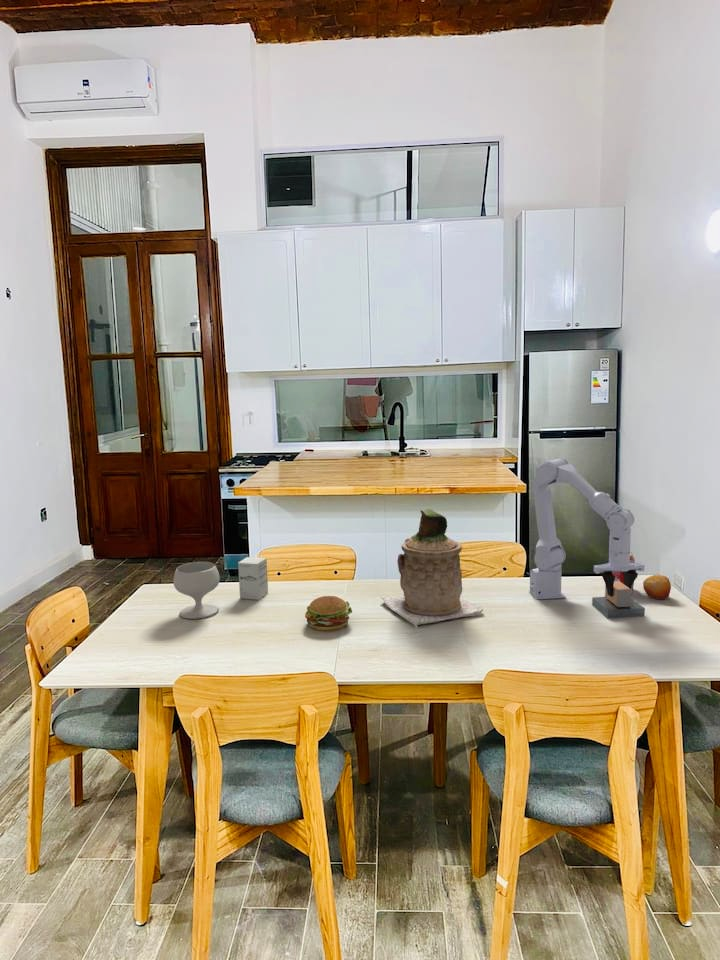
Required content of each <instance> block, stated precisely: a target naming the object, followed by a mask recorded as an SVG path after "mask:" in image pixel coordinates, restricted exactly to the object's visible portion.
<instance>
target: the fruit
mask: <svg viewBox="0 0 720 960" xmlns="http://www.w3.org/2000/svg"><path fill="white" fill-rule="evenodd" d="M642 584H643V590H644V592H645V594H646V595H647V596H648V597H650V598H652V599H657V600H662V601H663V600H666V599H667V598H669V597H670V593H671V590H672V584H671V581H670V579H669V578H668V577H667V576H666V575H662V574H654V575H650V576H648V577H647V578H645V580H643V583H642Z"/></svg>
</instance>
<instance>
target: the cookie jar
mask: <svg viewBox="0 0 720 960" xmlns="http://www.w3.org/2000/svg"><path fill="white" fill-rule="evenodd" d="M420 514H421V516H420V521H419V523H418V524H419V525H418V526H419V527H418V531H417V532H416V533H415V534H414V535H412V536H411V537H407V538H406V539H405V540H404V543H403V544H402V545H401V550H402V552H403V553H399V554H398V555H397V556H398V557H397V568H398V572H399V574H400V580H399V583H400V588H401V590H402V591H403V593H402V594H397V595H385V596H382V595H381V597H380V598H381V599H382V600H383V601H384V604H385V606H386V607H387V608H388V609H391V611H392V612H394V613H396V614H397V615H399V616H400V617H401V618H403V619H405V620H406V621H407V622H409V623H411V624H412V625H413V626H414V627H415V628H418V627H419V625H425V624H432V623H436V622H437V623H438V622H442V621H447V620H452V619H460V618H467V617H476V616H481V615H482V613H483V611H484V608H483V606H482V607H481V606H479V605H477V604H476V603H473V602H471V601H469V600H468V599H466V598H463V597H461V595H462V593H463V581H462V579H463V573H462V569H461V558H460V554H461V552H462V549H463V546H462V544H461V543H460V542H459V541H455V540H454V539H452V538H450V537H448V536H447V535H446V532H447V529H448V528H447V527H448V521H447V518H446V517H445V516H443V514H440V513H438V512H436V511H434V510H433V509H430V508H427V509H424V510H423V509H421V510H420Z"/></svg>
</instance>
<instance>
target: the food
mask: <svg viewBox="0 0 720 960" xmlns="http://www.w3.org/2000/svg"><path fill="white" fill-rule="evenodd" d="M350 614H353V610H352V607H351V606H350V603H349V601H346V600H344V599H343V598H341V597H338V596H336V595H324V596H323V595H322V596H320V597H317V598H315V599H313V601H311V602H310V603H309V605H308V606H307V607H306V612H305V614H304V617H305V619H306V622H307V624H308V625H309V627H311V628H312V629H315V630H317V631H325V630H326V631H335V630H339V629H342V628H344V627H345V626H347V625H348V622H349V620H350V616H349V615H350Z"/></svg>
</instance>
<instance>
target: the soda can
mask: <svg viewBox="0 0 720 960" xmlns="http://www.w3.org/2000/svg"><path fill="white" fill-rule="evenodd" d="M633 555H634V554H633V553H632V552H631V551H630V563H636V561H635V557H634V556H633ZM612 573H613V575H614V576H615V580H614V581H620V582H621V583H623V572H612ZM634 584H635V581H634V582H633V584H632V587H631V590H633V588H634V586H635V585H634Z"/></svg>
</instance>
